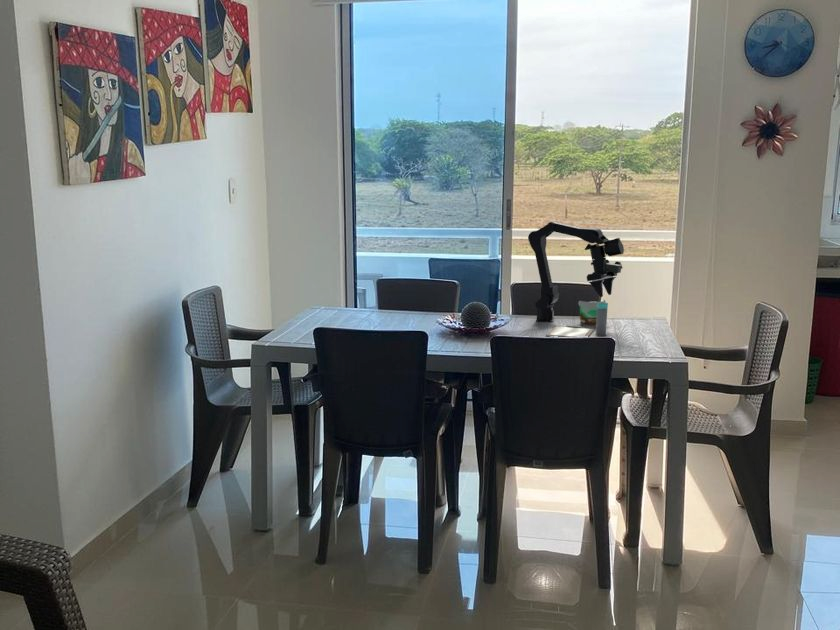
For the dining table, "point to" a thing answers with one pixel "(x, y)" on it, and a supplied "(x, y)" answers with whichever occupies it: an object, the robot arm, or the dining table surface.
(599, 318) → the marker
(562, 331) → the clipboard
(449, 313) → the dining table surface
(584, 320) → the food container
